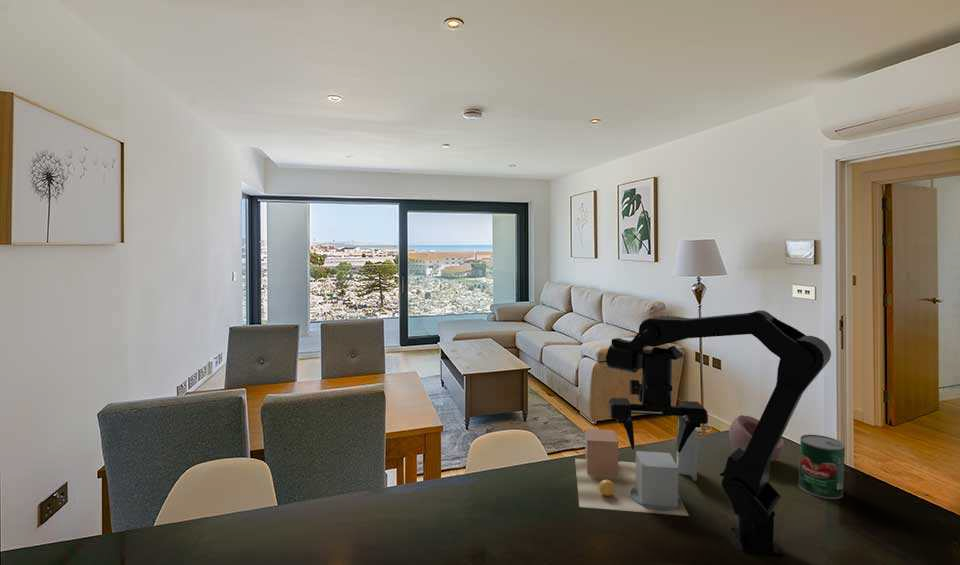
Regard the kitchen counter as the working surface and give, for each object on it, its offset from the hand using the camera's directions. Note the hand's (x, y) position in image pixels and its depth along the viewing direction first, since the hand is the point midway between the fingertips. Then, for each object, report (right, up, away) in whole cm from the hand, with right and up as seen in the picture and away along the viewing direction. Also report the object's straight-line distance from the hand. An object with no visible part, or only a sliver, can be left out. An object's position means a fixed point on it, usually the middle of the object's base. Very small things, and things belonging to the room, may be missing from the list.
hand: (655, 450), depth 94 cm
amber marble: (-10, -10, +2) cm, 14 cm away
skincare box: (+12, -11, +13) cm, 21 cm away
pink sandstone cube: (-8, -9, +14) cm, 19 cm away
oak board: (-4, -11, +6) cm, 13 cm away
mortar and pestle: (+33, -10, +19) cm, 39 cm away
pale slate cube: (0, -10, 0) cm, 10 cm away
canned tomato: (+39, -11, +5) cm, 40 cm away
